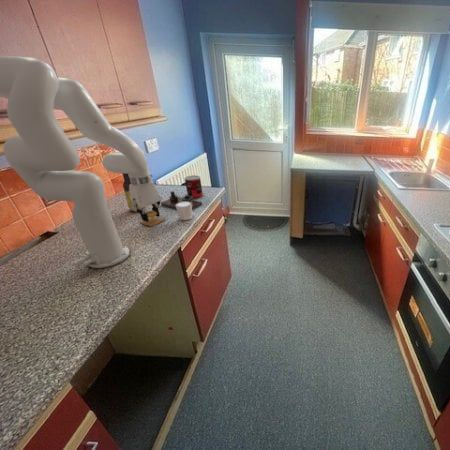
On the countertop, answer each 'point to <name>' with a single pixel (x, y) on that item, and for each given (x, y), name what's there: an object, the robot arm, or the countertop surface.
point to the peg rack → (175, 200)
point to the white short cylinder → (184, 210)
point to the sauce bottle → (127, 189)
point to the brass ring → (151, 213)
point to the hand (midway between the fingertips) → (151, 218)
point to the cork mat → (152, 221)
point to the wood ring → (187, 199)
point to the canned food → (193, 186)
